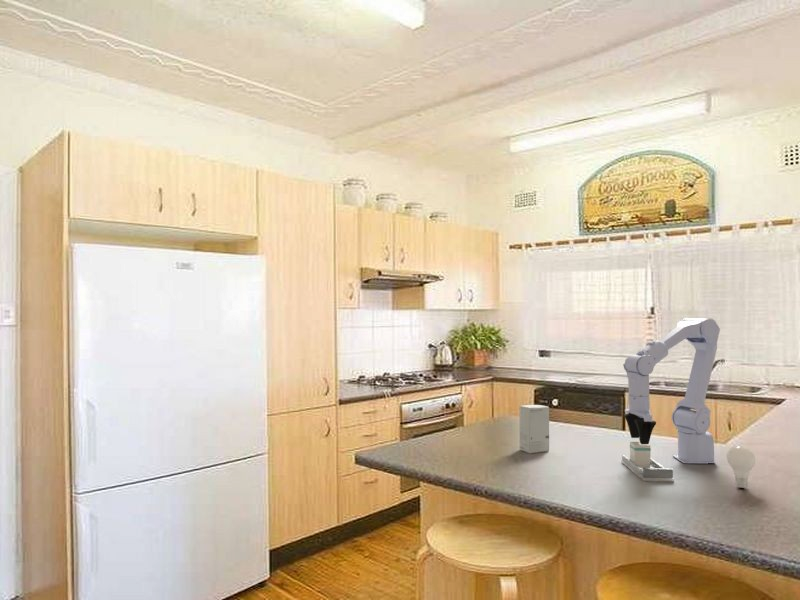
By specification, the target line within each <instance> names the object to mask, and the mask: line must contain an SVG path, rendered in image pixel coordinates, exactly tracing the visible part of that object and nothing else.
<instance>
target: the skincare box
mask: <svg viewBox="0 0 800 600" xmlns="http://www.w3.org/2000/svg"><path fill="white" fill-rule="evenodd" d="M518 407H519V450H520V451H523V452H525V453H527V454H536V453H541V452H542V453H543V452H550V407H549V406H547V405H541V404H527V405H526V404H524V405H523V404H522V405H519V406H518Z"/></svg>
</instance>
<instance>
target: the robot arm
mask: <svg viewBox="0 0 800 600" xmlns="http://www.w3.org/2000/svg"><path fill="white" fill-rule="evenodd" d="M720 331H721V328H720V326H719V325H718V323H717V321H716V320H715V319H713V318H711V317H710V318H692V317H691V318H690V317H684V318H683V319H682V320H680V321H679V322H677V324H676V326H675V327H674V328H673V329H672V330H670V332H668V334H666V335H665V336H664V337H663V338H662V339H660V340H650V341H649V342H648V344H647V345H646V346H645V347H643V348H642V349H639V350H637V353H636V354H630V355H628V356H627V357H626V358H625V361H624V363H623V366H622V367H623V369H624V371H625V372H626V377H627V379H628V381H627V382H628V383H627V384H628V388H627V389H628V405H627V407H626V409H624V412H625V413H623V417H624V418H625V421H626V422H627V423H626V424H627V425H628V429H629V433H630V437H631V439H639V442H640V443H641V444H649V445H650V440H651V436H652V432H653V430H654V428H655V426H656V425H657V421H656V420H653V414H651V413H652V412H651V410H650V408H651V407H650V374H652V373H653V371H654V368H655V366H656V365H657V364H658V363H660V362H661V361H662V360H664V359H665V358H667V356H668V355H669V350H670V349H672V348H674V347H675V346H676V345H678V344H680V343H682V342H683V341H685V340H687V342H688V343H689V344H691V345H692V346H693V347H694V349H695V353H694V358H693V361H692V366H691V368H690V369H691V370H690V373H689V378H688V381H687V386H686V391H685V396H684V398H682V399H681V400H679V401H678V402H677V403H676V406H675V408H674V410H673V411H672V412H671V423H672V424H673V426H674V427H675V430H676V431H677V454H673V455H672V457H673V458H675V459H676V460H677V461H680V462H681V463H683V464H708V463H715V464H716V461H715V441H714V437H713V434H712V433H711V432H709V431H708V430H709V428H710V426H711V410H710V408H709V407H708V406H707V404H706V403H705V402H706V396H707V392H708V388H709V384H710V380H711V376H712V372H713V366H714V363H715V359H716V354H717V349H718V340H719V339H718V338H719V335H720Z"/></svg>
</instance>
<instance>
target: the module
mask: <svg viewBox="0 0 800 600" xmlns="http://www.w3.org/2000/svg"><path fill="white" fill-rule="evenodd" d="M651 449H652V448H651V444H650V443H649V444H641V443H640V441H629V459H630V460H632V461H633V462H634V463H635V464H637V465H638V466H651V458H652V457H651ZM650 457H651V458H650Z"/></svg>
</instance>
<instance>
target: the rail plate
mask: <svg viewBox="0 0 800 600" xmlns="http://www.w3.org/2000/svg"><path fill="white" fill-rule="evenodd" d="M621 457H622V458H621V463H622V465H624V466H625V467H626V468H628V469H629V470H630V471H631V472H632V473H634V474H635V475H636V476H637V477H638V478H640V479H641V481H643V482H675V478H674V470H673V468H672V467H671V468H669V467H668V468H667V467H665V466H663V465H662V464H661V463H659V462H658V461H656V459H653V458H652V456H650V458H651V466H638V465H637V464H635V463H634V462H633V461H632V460H630V457H628V456H627V455H625V454H622V455H621Z"/></svg>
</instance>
